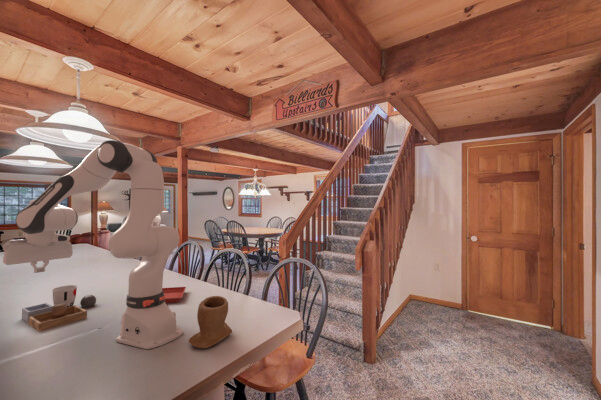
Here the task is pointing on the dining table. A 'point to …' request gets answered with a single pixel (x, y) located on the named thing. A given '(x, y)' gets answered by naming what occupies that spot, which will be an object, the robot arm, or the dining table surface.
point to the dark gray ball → (88, 301)
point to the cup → (64, 295)
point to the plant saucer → (173, 294)
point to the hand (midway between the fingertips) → (39, 272)
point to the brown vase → (211, 322)
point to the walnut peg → (58, 311)
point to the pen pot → (35, 311)
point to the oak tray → (46, 322)
